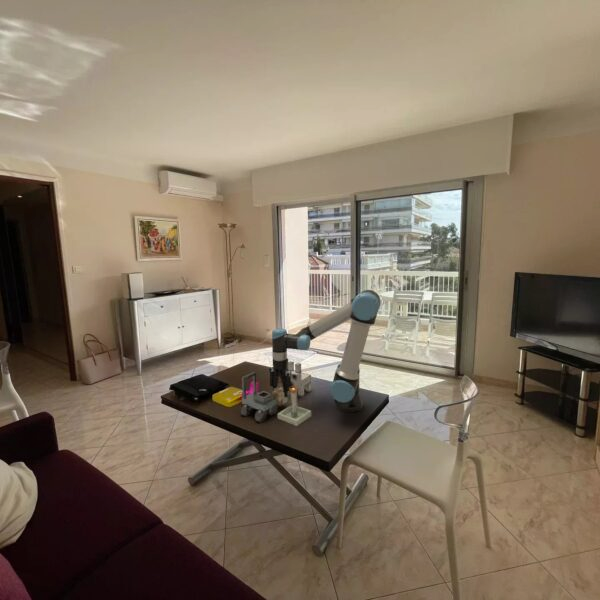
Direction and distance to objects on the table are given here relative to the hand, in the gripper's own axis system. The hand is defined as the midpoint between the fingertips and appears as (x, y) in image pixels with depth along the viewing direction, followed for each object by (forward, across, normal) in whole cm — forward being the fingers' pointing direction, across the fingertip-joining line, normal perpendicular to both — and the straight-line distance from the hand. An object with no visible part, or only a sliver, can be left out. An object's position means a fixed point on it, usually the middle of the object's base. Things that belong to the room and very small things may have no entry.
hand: (280, 400), depth 168 cm
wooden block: (+5, +24, -28) cm, 38 cm away
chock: (0, 0, 0) cm, 0 cm away
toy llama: (+5, +3, -21) cm, 22 cm away
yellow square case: (+5, +30, +9) cm, 32 cm away
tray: (+4, -12, +3) cm, 13 cm away
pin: (+3, -12, +3) cm, 13 cm away
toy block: (+5, +20, +1) cm, 21 cm away
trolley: (+5, +5, +11) cm, 13 cm away
